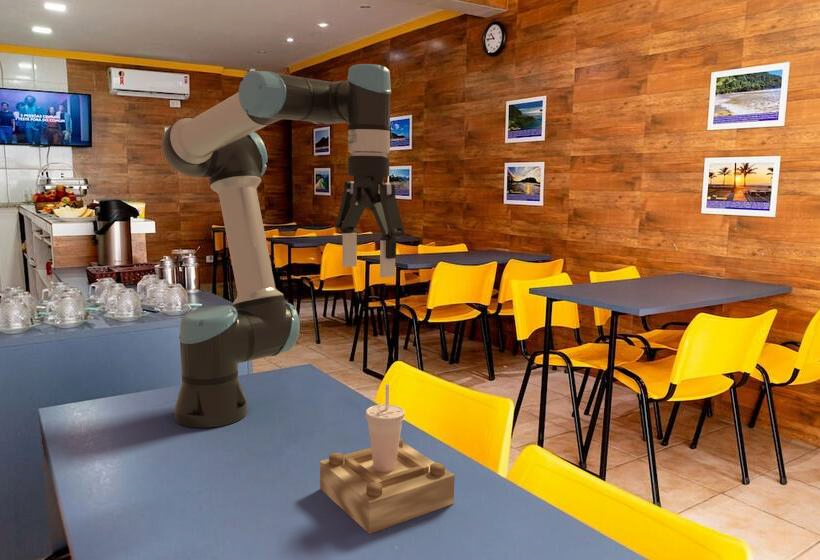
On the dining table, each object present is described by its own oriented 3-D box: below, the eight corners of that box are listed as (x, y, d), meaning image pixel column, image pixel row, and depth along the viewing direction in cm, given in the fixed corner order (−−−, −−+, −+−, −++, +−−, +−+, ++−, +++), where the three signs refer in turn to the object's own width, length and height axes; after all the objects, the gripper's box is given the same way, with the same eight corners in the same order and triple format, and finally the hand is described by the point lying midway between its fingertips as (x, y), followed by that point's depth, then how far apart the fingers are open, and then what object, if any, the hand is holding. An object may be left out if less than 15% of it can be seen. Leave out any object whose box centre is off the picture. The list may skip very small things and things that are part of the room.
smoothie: (410, 464, 104) (412, 383, 102) (390, 479, 98) (391, 395, 96) (378, 454, 107) (379, 376, 105) (357, 469, 102) (357, 387, 99)
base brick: (320, 488, 105) (320, 454, 104) (398, 465, 114) (399, 433, 113) (369, 534, 92) (370, 495, 91) (453, 503, 101) (454, 467, 100)
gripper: (318, 155, 120) (318, 264, 124) (389, 153, 100) (387, 283, 104) (352, 156, 125) (351, 261, 128) (426, 154, 105) (423, 279, 108)
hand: (367, 271), depth 116 cm, fingers open, 13 cm apart
